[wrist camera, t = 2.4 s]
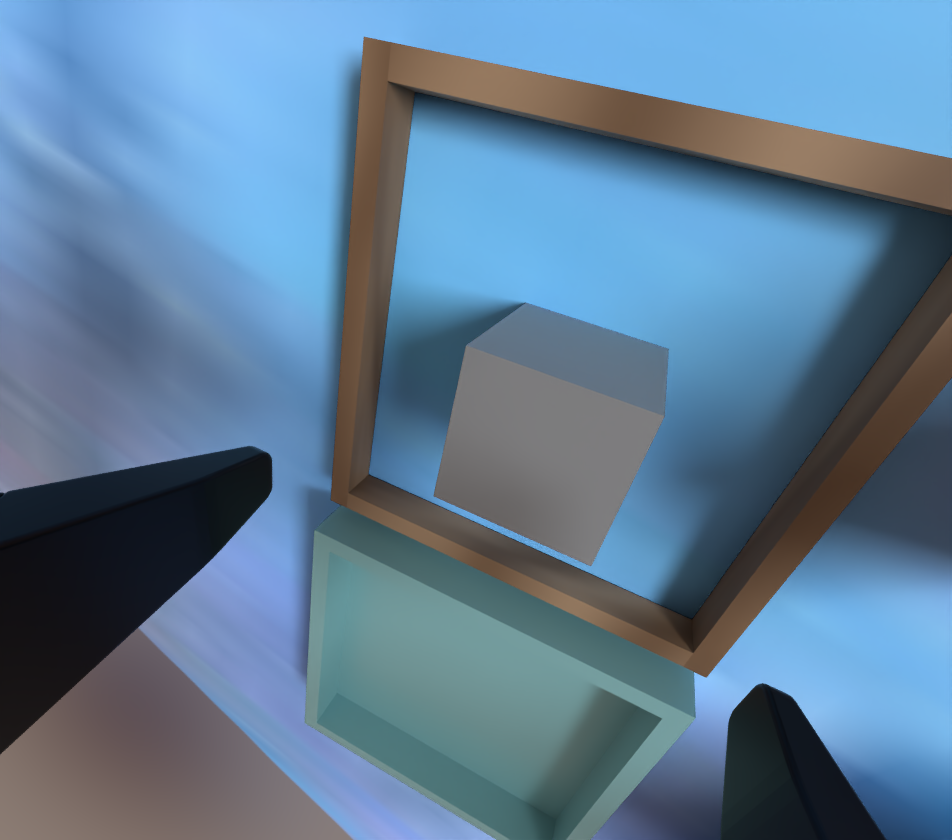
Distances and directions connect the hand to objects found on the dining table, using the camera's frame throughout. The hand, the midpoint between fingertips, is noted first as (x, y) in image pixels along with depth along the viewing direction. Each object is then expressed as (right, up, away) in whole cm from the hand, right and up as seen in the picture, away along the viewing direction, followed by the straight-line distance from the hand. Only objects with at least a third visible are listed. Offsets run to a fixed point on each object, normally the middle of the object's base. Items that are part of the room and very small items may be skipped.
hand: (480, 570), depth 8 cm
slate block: (+3, +4, +7) cm, 9 cm away
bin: (0, -10, +15) cm, 19 cm away
